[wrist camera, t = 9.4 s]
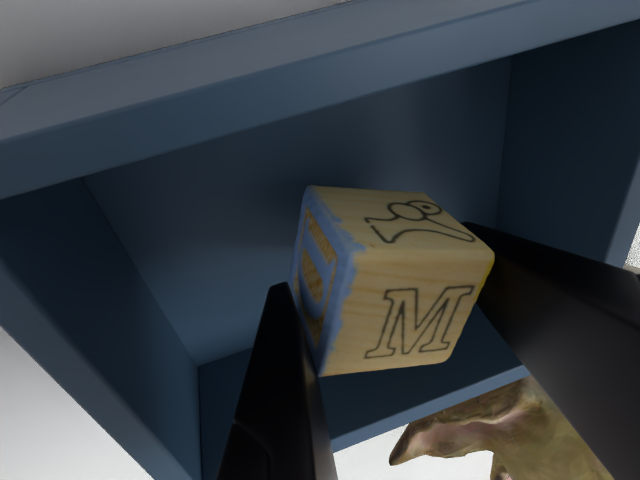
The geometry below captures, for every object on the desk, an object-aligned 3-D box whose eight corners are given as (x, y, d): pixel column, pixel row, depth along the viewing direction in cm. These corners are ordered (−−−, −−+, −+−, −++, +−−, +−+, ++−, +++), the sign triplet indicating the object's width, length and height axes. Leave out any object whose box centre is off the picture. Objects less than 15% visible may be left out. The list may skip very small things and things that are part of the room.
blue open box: (529, -45, 10) (744, -58, 6) (496, 261, 15) (593, 350, 12) (1, 88, 8) (-152, 180, 4) (185, 371, 14) (185, 512, 10)
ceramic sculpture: (946, 447, 13) (573, 618, 18) (695, 280, 20) (472, 437, 25) (1006, 365, 8) (442, 644, 13) (630, 172, 15) (358, 401, 19)
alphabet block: (305, 177, 9) (351, 256, 6) (425, 186, 10) (505, 257, 7) (284, 287, 10) (314, 384, 8) (389, 284, 11) (446, 369, 9)
